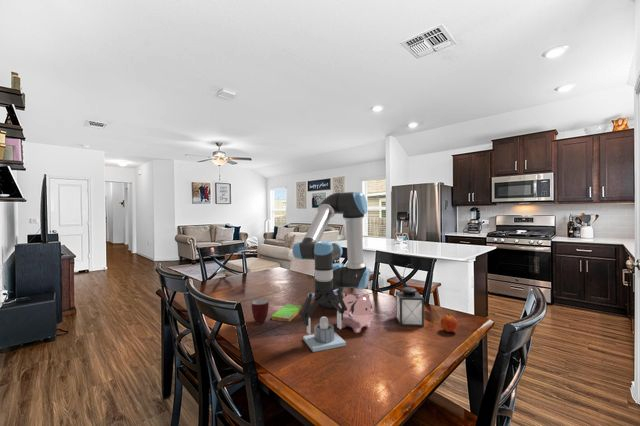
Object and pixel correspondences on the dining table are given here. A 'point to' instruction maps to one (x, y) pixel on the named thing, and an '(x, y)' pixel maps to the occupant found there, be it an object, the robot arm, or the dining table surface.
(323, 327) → the block
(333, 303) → the robot arm
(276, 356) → the dining table surface
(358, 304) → the piggy bank
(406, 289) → the lantern
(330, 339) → the ring
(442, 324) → the fruit
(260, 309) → the mug
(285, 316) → the game box
